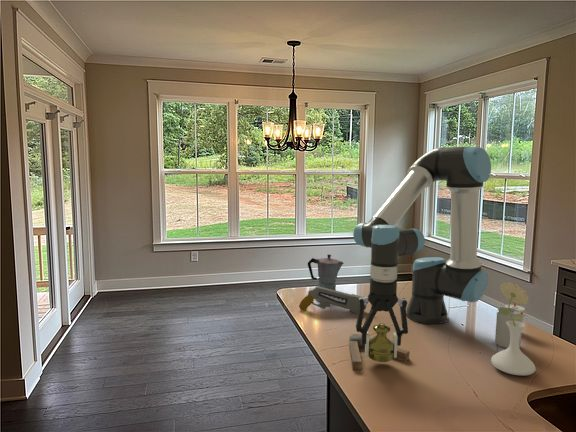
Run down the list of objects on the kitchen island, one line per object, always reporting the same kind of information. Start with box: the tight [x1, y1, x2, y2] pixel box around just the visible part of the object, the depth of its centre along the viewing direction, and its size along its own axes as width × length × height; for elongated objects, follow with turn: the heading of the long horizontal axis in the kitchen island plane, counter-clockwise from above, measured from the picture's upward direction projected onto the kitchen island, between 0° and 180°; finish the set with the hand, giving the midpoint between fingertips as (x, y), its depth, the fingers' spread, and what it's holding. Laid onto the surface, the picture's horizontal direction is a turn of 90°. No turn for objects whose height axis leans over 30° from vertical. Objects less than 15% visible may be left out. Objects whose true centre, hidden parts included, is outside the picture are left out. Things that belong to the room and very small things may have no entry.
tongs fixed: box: [348, 333, 365, 371], centre depth 129 cm, size 5×20×2 cm, turn 176°
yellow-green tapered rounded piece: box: [368, 322, 394, 363], centre depth 122 cm, size 7×7×10 cm
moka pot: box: [307, 254, 344, 291], centre depth 181 cm, size 10×15×20 cm, turn 89°
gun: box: [298, 285, 370, 314], centre depth 168 cm, size 3×25×15 cm, turn 88°
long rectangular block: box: [369, 337, 410, 362], centre depth 131 cm, size 2×14×2 cm, turn 46°
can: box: [494, 307, 524, 350], centre depth 136 cm, size 8×8×12 cm
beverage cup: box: [504, 303, 526, 315], centre depth 147 cm, size 6×6×14 cm
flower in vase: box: [490, 281, 537, 376], centre depth 120 cm, size 13×11×25 cm
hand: (380, 354), depth 123 cm, fingers closed on yellow-green tapered rounded piece, 7 cm apart
